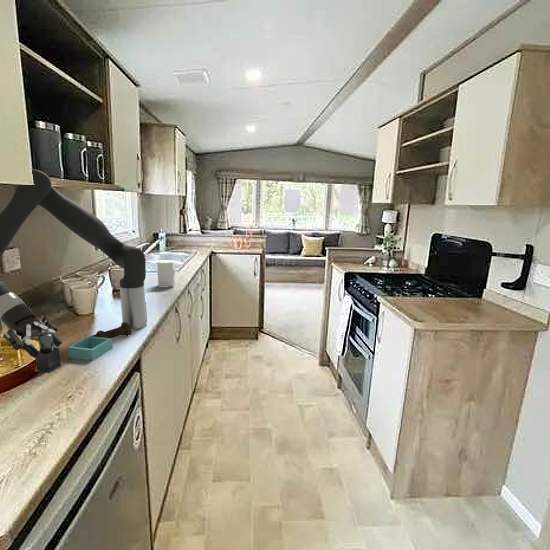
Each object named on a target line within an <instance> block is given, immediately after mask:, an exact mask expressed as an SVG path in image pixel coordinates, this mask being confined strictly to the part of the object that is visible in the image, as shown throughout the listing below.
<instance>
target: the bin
mask: <svg viewBox="0 0 550 550" xmlns="http://www.w3.org/2000/svg"><path fill="white" fill-rule="evenodd" d="M113 345H114V344H113V338H101V337H92V335H89V336H87V337H84V338H83V339H81V340H79V341H77V342H75V343H73V344H71V345H69V346H68V347H67V354H68V358H70V359H78V360H85V361H95V360H96V359H98V358H100V357H101V356H102V355H104V354H106V353H107V352H109V351H111V350H112V349H114V347H113Z"/></svg>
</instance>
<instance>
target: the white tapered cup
mask: <svg viewBox="0 0 550 550" xmlns="http://www.w3.org/2000/svg"><path fill="white" fill-rule="evenodd" d="M156 264H157V283H158V284H157V286H158V288H161V287H160V286H174V287H175V285H176V277H175V276H176V273H175V260H174V259H171V260H170V259H168V260H167V259H165V260H163V259H162V260H159V261H157V263H156ZM174 284H175V285H174Z"/></svg>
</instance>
